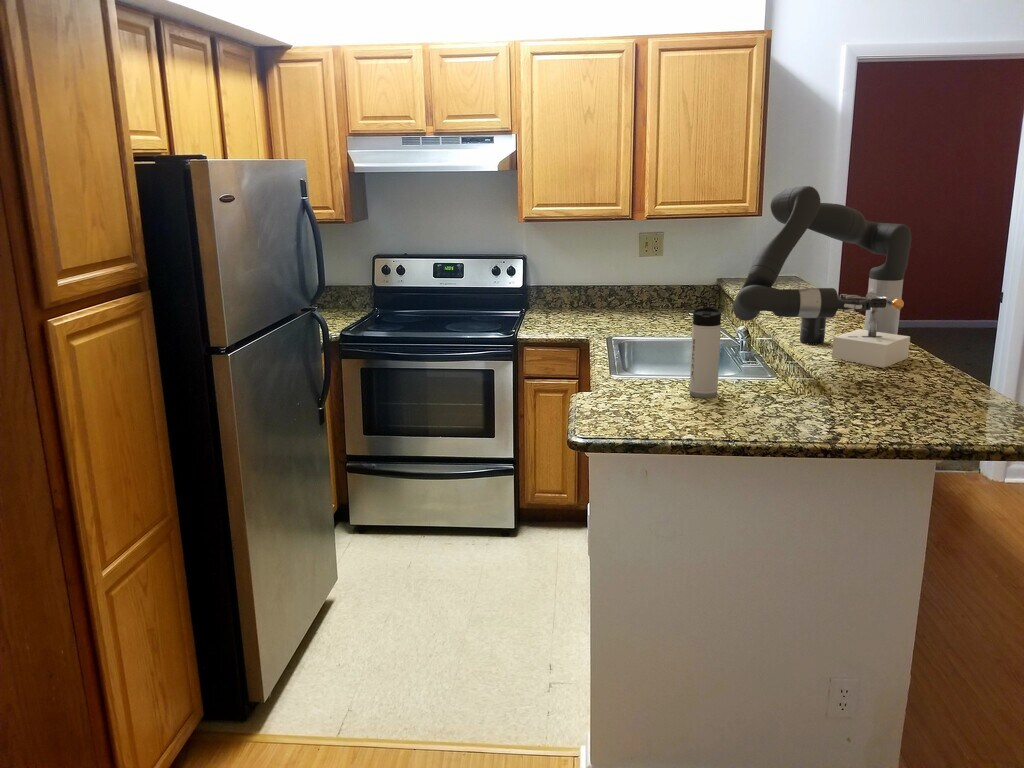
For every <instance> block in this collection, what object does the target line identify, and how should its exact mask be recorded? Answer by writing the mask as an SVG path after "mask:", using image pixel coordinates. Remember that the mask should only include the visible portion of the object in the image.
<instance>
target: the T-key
mask: <svg viewBox="0 0 1024 768" xmlns="http://www.w3.org/2000/svg"><path fill="white" fill-rule="evenodd" d="M865 297H869V298H884V299H886V300H887V302H886V305H888V306H892V307H893V308H894V309H896V310H899V309H900V310H902V309H903V307H904V304H905V303H904V300H903V299H902V298H901V299H899V298H897V299H893V298H890V297H886V296H883V295H879V294H876V293H872V292H869V293H868V292H867V293H866V294H865ZM878 313H879V308H871V310H870V320H869V330H868V336H876V332H877V323H878Z"/></svg>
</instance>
